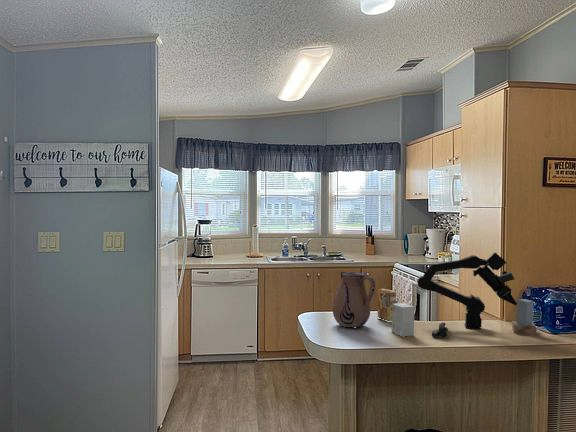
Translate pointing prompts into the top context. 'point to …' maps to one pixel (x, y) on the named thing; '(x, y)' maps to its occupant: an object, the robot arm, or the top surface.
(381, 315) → the candy box
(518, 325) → the base block
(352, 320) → the ceramic pitcher
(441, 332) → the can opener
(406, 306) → the small box
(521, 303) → the pillar
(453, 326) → the top surface
